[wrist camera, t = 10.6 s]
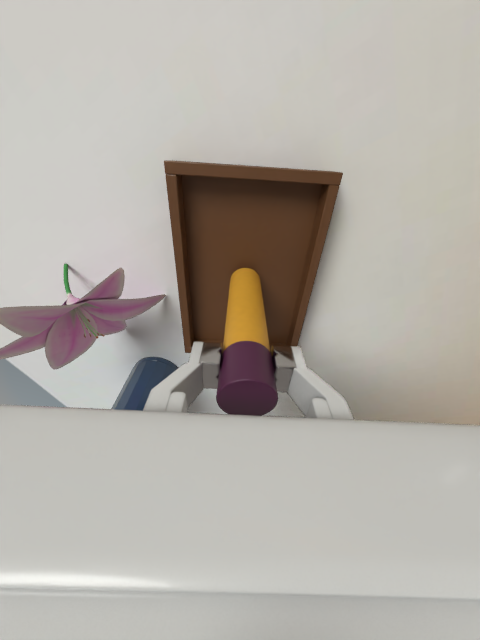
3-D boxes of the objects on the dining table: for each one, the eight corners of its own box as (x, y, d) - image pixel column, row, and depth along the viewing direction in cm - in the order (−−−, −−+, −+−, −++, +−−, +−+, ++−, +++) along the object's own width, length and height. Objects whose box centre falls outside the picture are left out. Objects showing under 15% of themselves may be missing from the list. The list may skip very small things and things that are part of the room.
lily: (75, 331, 26) (75, 410, 21) (-60, 255, 17) (-123, 367, 11) (168, 284, 27) (192, 349, 21) (92, 183, 17) (100, 257, 12)
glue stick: (230, 266, 19) (215, 378, 9) (262, 267, 19) (282, 381, 9) (229, 294, 21) (216, 417, 11) (259, 296, 21) (273, 419, 11)
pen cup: (129, 355, 27) (95, 413, 21) (178, 358, 27) (159, 416, 21) (139, 387, 30) (112, 445, 24) (183, 389, 30) (167, 447, 24)
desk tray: (172, 160, 16) (163, 160, 14) (332, 171, 16) (343, 172, 15) (188, 339, 25) (185, 352, 24) (290, 345, 26) (294, 358, 24)
